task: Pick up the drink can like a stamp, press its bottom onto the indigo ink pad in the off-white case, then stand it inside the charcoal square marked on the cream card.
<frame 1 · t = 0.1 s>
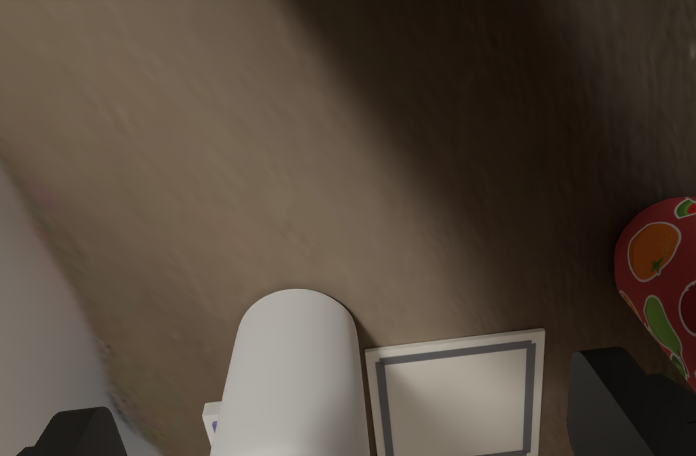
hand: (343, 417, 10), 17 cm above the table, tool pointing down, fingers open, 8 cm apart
ink pad: (275, 439, 33), on the table
target card: (455, 406, 33), on the table
can: (298, 332, 30), on the table
smoothie: (664, 243, 29), on the table
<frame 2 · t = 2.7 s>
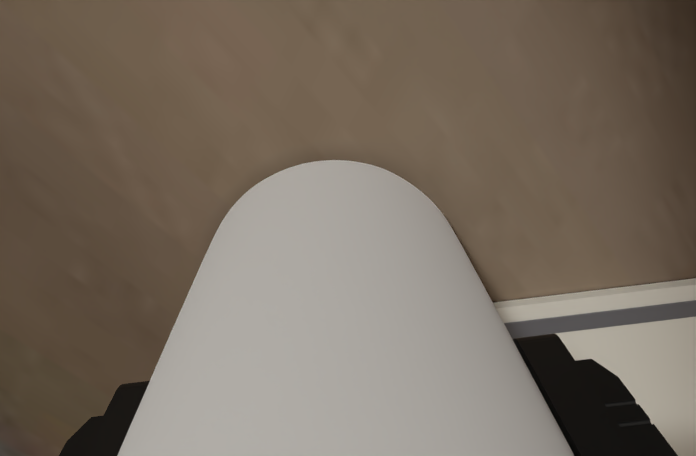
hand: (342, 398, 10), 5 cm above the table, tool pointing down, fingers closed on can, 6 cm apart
target card: (632, 423, 17), on the table
can: (334, 269, 15), on the table, touching gripper
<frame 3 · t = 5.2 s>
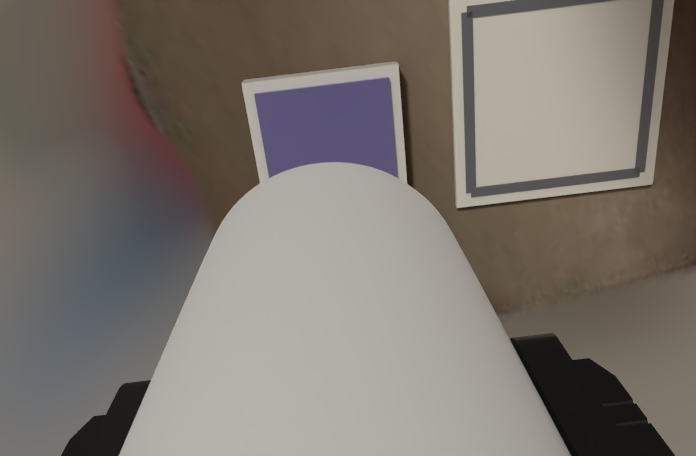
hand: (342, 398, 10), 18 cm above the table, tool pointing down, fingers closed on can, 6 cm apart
ink pad: (329, 144, 27), on the table
target card: (556, 96, 26), on the table
can: (333, 270, 15), point 13 cm above the table, touching gripper
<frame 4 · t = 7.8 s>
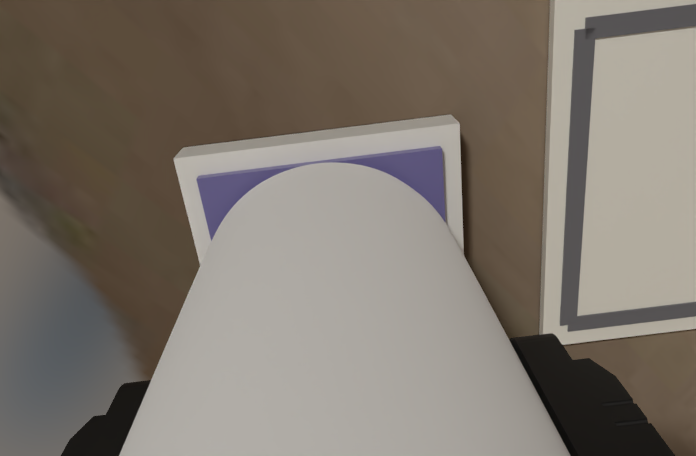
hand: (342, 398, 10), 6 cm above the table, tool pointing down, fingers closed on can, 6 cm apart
ink pad: (333, 251, 16), on the table
can: (332, 270, 15), point 1 cm above the table, touching gripper, ink pad
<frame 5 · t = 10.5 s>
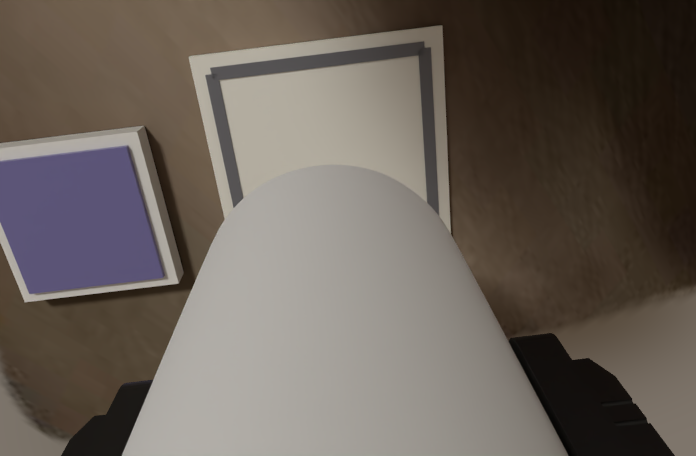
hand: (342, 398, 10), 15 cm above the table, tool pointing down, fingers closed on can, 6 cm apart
ink pad: (86, 213, 24), on the table
target card: (331, 161, 24), on the table
can: (332, 272, 15), point 10 cm above the table, touching gripper
when the fingers open (7 cm above the table, at t = 12.8 s): can drops 1 cm, resting on target card.
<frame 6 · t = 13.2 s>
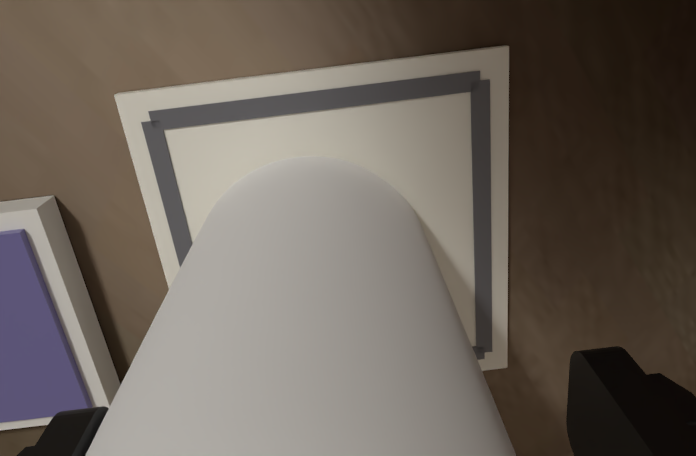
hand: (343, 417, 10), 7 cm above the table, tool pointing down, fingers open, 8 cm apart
target card: (335, 244, 16), on the table
can: (313, 255, 16), resting on target card
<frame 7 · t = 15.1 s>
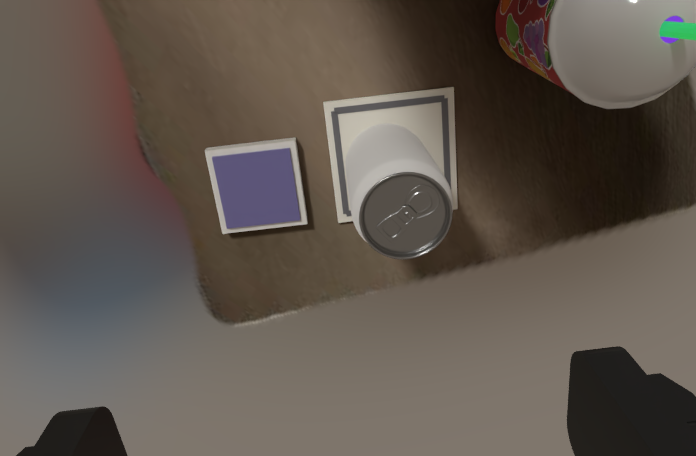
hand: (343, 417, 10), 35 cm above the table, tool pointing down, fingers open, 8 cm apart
ink pad: (259, 184, 45), on the table
target card: (393, 157, 44), on the table
can: (385, 161, 44), resting on target card
smoothie: (534, 16, 41), on the table
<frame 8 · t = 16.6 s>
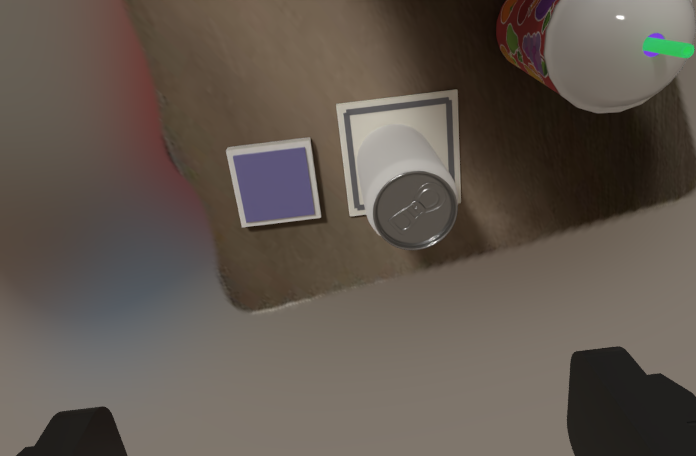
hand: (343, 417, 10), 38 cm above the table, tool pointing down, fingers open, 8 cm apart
ink pad: (275, 181, 48), on the table
target card: (400, 154, 47), on the table
can: (393, 158, 47), resting on target card
smoothie: (532, 23, 44), on the table
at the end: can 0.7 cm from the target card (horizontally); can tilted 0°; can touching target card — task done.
